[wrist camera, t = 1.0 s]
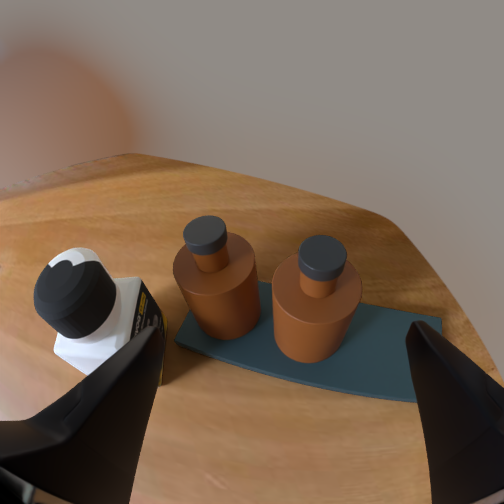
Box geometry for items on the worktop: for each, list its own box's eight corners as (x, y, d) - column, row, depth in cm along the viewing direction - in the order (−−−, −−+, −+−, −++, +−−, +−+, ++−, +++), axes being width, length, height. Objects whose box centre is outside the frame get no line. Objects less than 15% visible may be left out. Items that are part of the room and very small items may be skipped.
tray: (433, 404, 17) (439, 401, 16) (176, 344, 24) (173, 340, 23) (437, 322, 22) (441, 317, 21) (213, 275, 29) (211, 269, 28)
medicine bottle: (162, 388, 21) (82, 323, 12) (97, 382, 21) (10, 319, 12) (169, 319, 26) (115, 229, 17) (109, 320, 26) (45, 241, 17)
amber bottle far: (247, 348, 22) (228, 275, 15) (185, 328, 24) (142, 253, 16) (269, 292, 26) (263, 206, 18) (211, 278, 27) (187, 196, 20)
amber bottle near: (335, 370, 20) (370, 306, 12) (264, 353, 21) (255, 282, 14) (347, 309, 23) (375, 227, 16) (284, 295, 25) (285, 210, 18)
